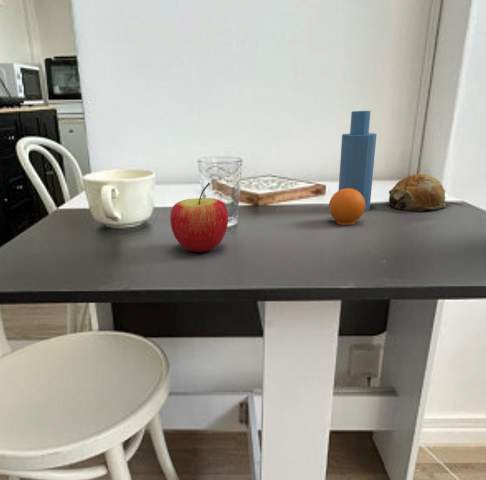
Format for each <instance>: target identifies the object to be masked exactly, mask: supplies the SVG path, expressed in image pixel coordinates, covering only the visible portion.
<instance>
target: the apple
mask: <svg viewBox="0 0 486 480" xmlns="http://www.w3.org/2000/svg"><path fill="white" fill-rule="evenodd" d="M210 185H211V182H208V183H207V184H206V185H205V186H204V188H203V189H202V190H201V193H200V195H199V197H197V198H186V199H183V200H180V201H177V202H176V203H175V204H173V206H172V207H171V210H170V216H169V217H170V218H169V220H170V228H171V231H172V234H173V236H174V238H175V240H176V241H177V243H179V245H180V246H181V247H183V248H184V249H185V250H187V251H190V252H194V253H205V252H209V251H211V250H213V249H215V248H217V247H218V246H219V245H220V244H221V243H222V241H223V239H224V237H225V236H226V235H225V234H226V233H227V230H228V224H229V211H228V208H227V206H226V203H224V202H223V201H222V200H220V199H217V198H213V197H202V196H203V194H204V192H205V191H206V189H207V188H208V187H209V186H210Z"/></svg>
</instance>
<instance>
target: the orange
mask: <svg viewBox="0 0 486 480" xmlns="http://www.w3.org/2000/svg"><path fill="white" fill-rule="evenodd" d="M328 210H329V213H330V215H331V217H332V218H333V219H334V220H335V221H336V224H338V225H341V226H351V225H355V223H356V221H358V220H359V219H360V218H361V217H362V216H363V215H364V213H365V212H364V210H365V200H364V197H363V196H362V194H361V193H360V192H358V191H357V190H355V189H351V188H345V189H341V190H339V189H338V190H337V191H335V193H334V194H333V195H332V196H331V198H330V200H329V203H328Z"/></svg>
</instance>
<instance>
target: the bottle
mask: <svg viewBox="0 0 486 480" xmlns="http://www.w3.org/2000/svg"><path fill="white" fill-rule="evenodd" d="M350 114H351V115H350V126H349V133H343V134H342V135H341V145H340V146H341V147H340V160H339V161H340V162H339V175H338V176H339V177H338V191H339V190H341V189H345V188H351V189H355V190H357V191H358V192H360V193H361V194H362V196H363V197H364V200H365V210H364V213H365V212H368V211H370V209H371V196H372V190H373V189H372V186H373V176H374V166H375V155H376V145H377V133H375V132H370V123H371V122H370V121H371V110H353V111H351V113H350Z"/></svg>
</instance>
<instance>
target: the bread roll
mask: <svg viewBox="0 0 486 480" xmlns="http://www.w3.org/2000/svg"><path fill="white" fill-rule="evenodd" d="M388 194H389V195H388V196H389V197H388V202H389V205H390V206H392V208H395V209H398V210H403V211H413V212H424V211H439V210H441V209H445V208H446V206H447V205H446V190H445V189H444V186H443V183H442V182H441V181H440V180H439V179H438V178H437V177H434V176H432V175H430V174H427V173H416V174H411V175H408V176H406V177H403V178H402V179H400V180H399V181H398V182H396V183H395V185H394V186H393V187H392V188H391V189H390V190H389V191H388Z"/></svg>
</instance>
